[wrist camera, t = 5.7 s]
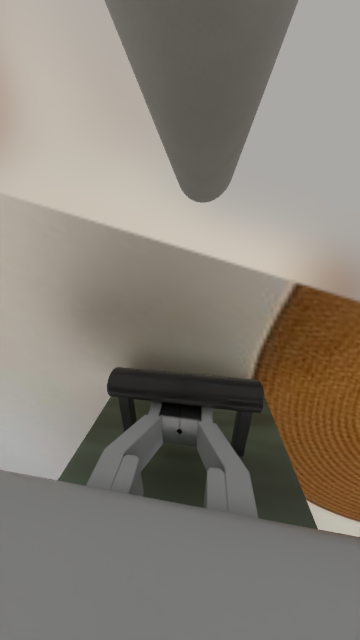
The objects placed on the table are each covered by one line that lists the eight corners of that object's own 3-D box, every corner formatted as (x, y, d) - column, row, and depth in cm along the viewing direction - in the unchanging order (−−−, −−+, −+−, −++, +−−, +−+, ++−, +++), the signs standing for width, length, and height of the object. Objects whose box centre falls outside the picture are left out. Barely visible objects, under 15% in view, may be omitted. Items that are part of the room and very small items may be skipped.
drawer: (116, 326, 13) (10, 419, 6) (274, 335, 12) (383, 472, 5) (138, 467, 20) (101, 588, 13) (239, 484, 19) (260, 630, 11)
